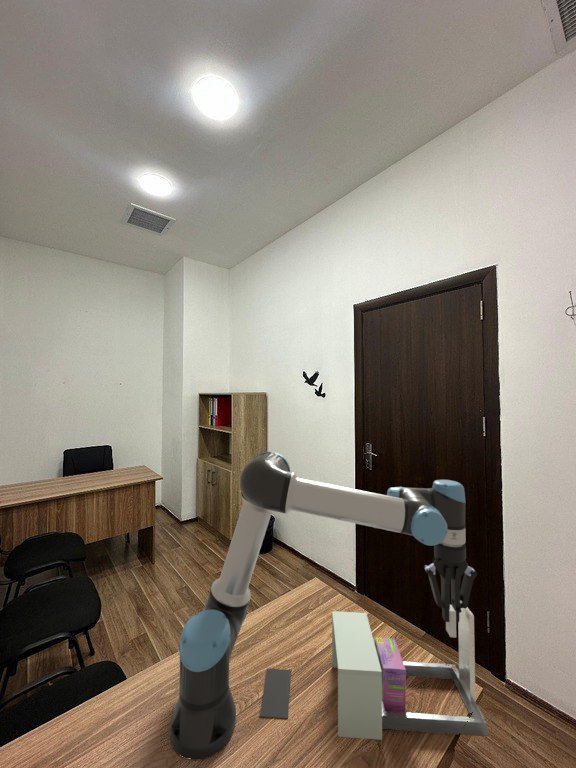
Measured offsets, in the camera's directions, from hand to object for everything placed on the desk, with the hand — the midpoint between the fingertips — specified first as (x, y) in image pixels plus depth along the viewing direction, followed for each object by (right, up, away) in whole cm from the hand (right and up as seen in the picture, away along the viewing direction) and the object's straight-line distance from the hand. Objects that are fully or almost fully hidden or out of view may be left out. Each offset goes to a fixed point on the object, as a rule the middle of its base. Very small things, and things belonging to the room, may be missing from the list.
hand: (451, 633), depth 84 cm
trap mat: (-46, -17, +2) cm, 49 cm away
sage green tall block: (-25, -18, +1) cm, 31 cm away
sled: (-8, -18, 0) cm, 19 cm away
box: (-16, -18, +1) cm, 24 cm away
